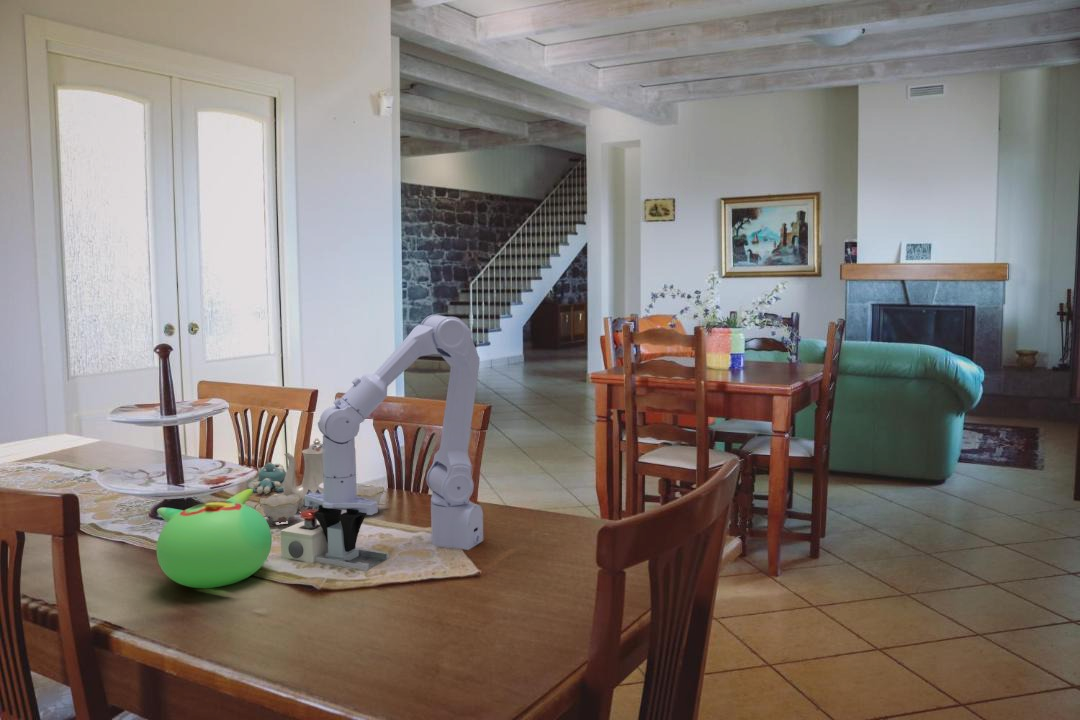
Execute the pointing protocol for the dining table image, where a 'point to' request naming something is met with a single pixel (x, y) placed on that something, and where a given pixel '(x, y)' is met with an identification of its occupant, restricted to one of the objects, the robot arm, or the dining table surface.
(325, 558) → the rail
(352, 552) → the carriage
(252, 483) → the stuffed animal
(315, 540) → the end cabinet
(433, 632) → the dining table surface
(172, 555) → the green rounded blob
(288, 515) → the chinaware
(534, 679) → the dining table surface
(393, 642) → the dining table surface
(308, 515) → the red push button
